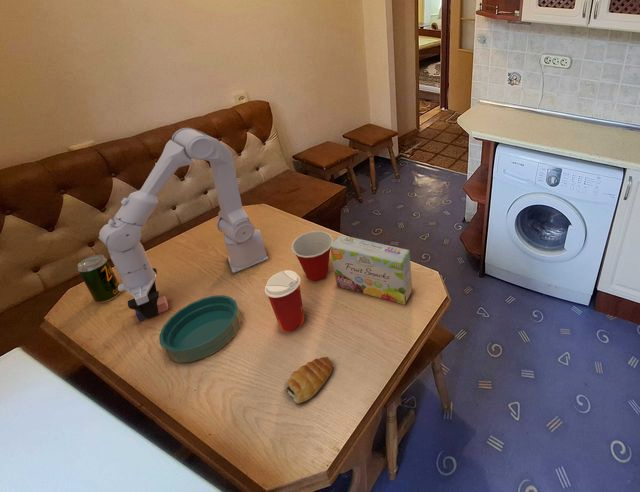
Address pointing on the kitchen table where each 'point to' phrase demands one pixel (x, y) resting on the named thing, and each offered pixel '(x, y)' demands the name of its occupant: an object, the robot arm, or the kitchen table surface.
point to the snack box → (372, 268)
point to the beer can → (99, 278)
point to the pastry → (309, 379)
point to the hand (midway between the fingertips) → (152, 306)
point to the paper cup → (286, 299)
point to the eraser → (162, 307)
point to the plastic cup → (313, 253)
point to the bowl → (200, 328)
